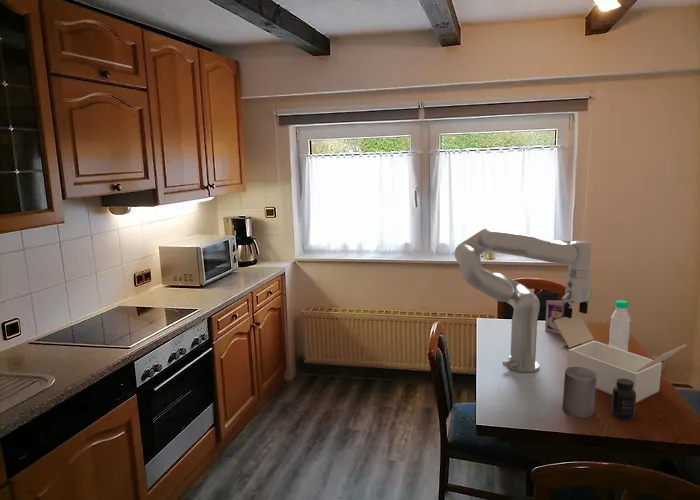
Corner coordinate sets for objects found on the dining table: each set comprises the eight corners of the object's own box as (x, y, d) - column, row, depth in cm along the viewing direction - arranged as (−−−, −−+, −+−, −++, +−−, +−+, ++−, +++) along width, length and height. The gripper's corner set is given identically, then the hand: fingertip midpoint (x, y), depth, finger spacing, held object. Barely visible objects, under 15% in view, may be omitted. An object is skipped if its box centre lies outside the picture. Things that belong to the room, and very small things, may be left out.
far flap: (554, 320, 201) (553, 320, 201) (570, 347, 196) (569, 347, 197) (578, 312, 208) (577, 313, 209) (593, 338, 204) (593, 339, 204)
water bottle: (608, 355, 217) (612, 297, 212) (627, 358, 213) (632, 300, 208) (606, 361, 211) (611, 302, 206) (626, 364, 208) (631, 305, 203)
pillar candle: (557, 404, 178) (559, 363, 175) (584, 402, 179) (587, 362, 176) (571, 419, 169) (573, 376, 166) (600, 417, 169) (603, 374, 166)
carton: (633, 404, 177) (636, 374, 175) (566, 376, 198) (568, 349, 196) (658, 391, 185) (661, 362, 183) (592, 366, 207) (593, 340, 205)
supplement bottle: (636, 414, 170) (640, 380, 168) (631, 423, 165) (634, 388, 163) (614, 408, 175) (617, 374, 172) (608, 416, 170) (610, 382, 167)
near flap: (636, 371, 175) (637, 372, 175) (662, 354, 167) (663, 355, 167) (660, 360, 183) (661, 361, 182) (686, 343, 175) (687, 345, 174)
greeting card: (544, 331, 246) (545, 300, 243) (549, 326, 252) (551, 297, 249) (569, 336, 239) (571, 305, 236) (574, 331, 244) (576, 301, 241)
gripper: (573, 278, 193) (570, 321, 196) (601, 271, 202) (597, 313, 205) (556, 274, 199) (553, 316, 203) (583, 268, 208) (580, 308, 212)
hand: (575, 315), depth 204 cm, fingers open, 9 cm apart
